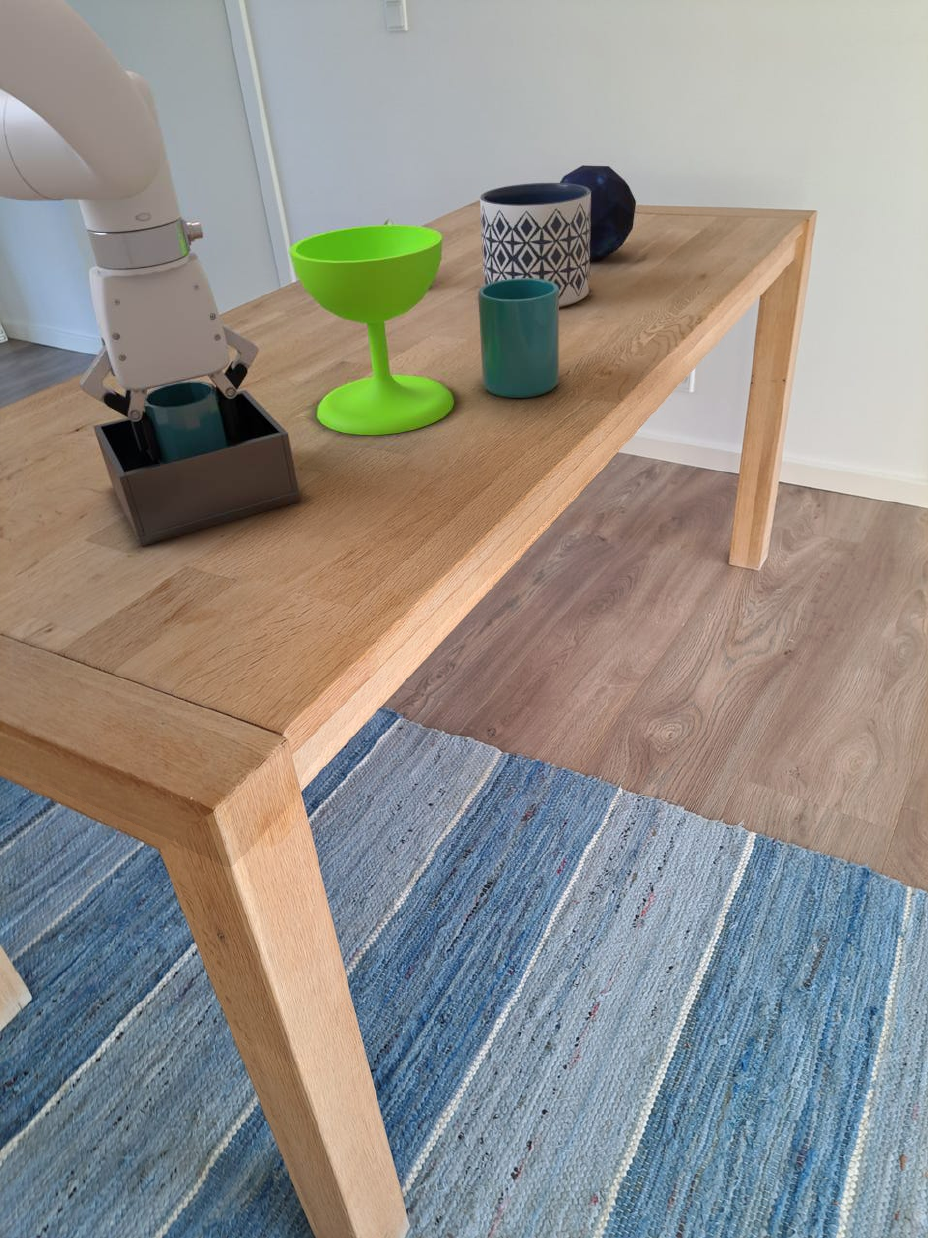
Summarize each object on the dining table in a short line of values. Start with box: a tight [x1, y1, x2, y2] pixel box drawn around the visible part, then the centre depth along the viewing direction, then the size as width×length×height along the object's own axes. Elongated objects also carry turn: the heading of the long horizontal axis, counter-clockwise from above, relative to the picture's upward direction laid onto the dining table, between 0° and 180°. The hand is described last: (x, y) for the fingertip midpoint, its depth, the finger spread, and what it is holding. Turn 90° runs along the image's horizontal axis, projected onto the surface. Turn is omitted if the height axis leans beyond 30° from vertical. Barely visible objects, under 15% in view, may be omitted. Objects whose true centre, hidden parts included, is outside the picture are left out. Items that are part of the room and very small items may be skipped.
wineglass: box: [288, 224, 455, 436], centre depth 98 cm, size 16×16×18 cm
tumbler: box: [143, 380, 229, 463], centre depth 84 cm, size 7×7×9 cm
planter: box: [479, 182, 591, 308], centre depth 131 cm, size 16×16×14 cm
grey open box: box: [93, 389, 301, 547], centre depth 85 cm, size 15×13×7 cm
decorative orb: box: [559, 164, 637, 262], centre depth 147 cm, size 14×15×15 cm
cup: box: [477, 278, 560, 399], centre depth 103 cm, size 9×12×11 cm
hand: (191, 443), depth 84 cm, fingers closed on tumbler, 6 cm apart
